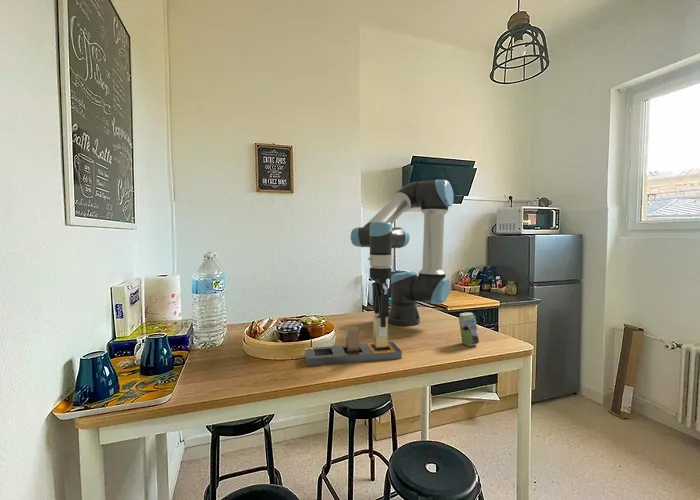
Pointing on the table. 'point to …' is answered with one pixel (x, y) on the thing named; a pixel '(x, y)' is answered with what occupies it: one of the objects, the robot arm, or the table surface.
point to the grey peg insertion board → (351, 354)
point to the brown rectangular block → (352, 340)
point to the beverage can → (468, 329)
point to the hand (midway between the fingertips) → (380, 333)
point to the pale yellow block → (379, 340)
